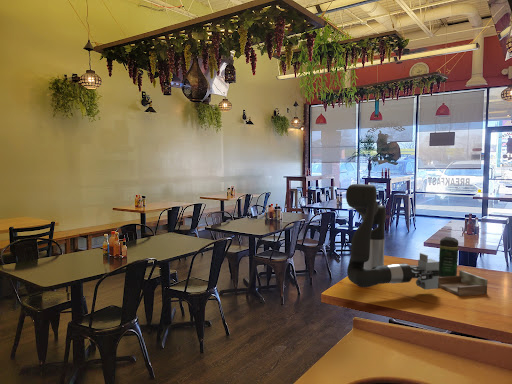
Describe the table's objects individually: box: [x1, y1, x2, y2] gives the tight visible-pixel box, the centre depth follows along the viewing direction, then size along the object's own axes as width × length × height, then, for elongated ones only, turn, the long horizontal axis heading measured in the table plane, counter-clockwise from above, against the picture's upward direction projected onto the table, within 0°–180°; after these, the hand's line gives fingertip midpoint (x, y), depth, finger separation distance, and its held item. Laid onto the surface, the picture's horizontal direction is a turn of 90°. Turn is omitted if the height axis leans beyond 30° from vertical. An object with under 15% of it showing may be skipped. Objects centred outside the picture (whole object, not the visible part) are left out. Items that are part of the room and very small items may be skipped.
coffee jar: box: [438, 236, 459, 277], centre depth 185 cm, size 10×8×19 cm
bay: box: [438, 269, 488, 297], centre depth 167 cm, size 14×13×6 cm
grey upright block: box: [415, 252, 440, 290], centre depth 160 cm, size 5×7×14 cm
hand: (433, 270), depth 161 cm, fingers closed on grey upright block, 5 cm apart
